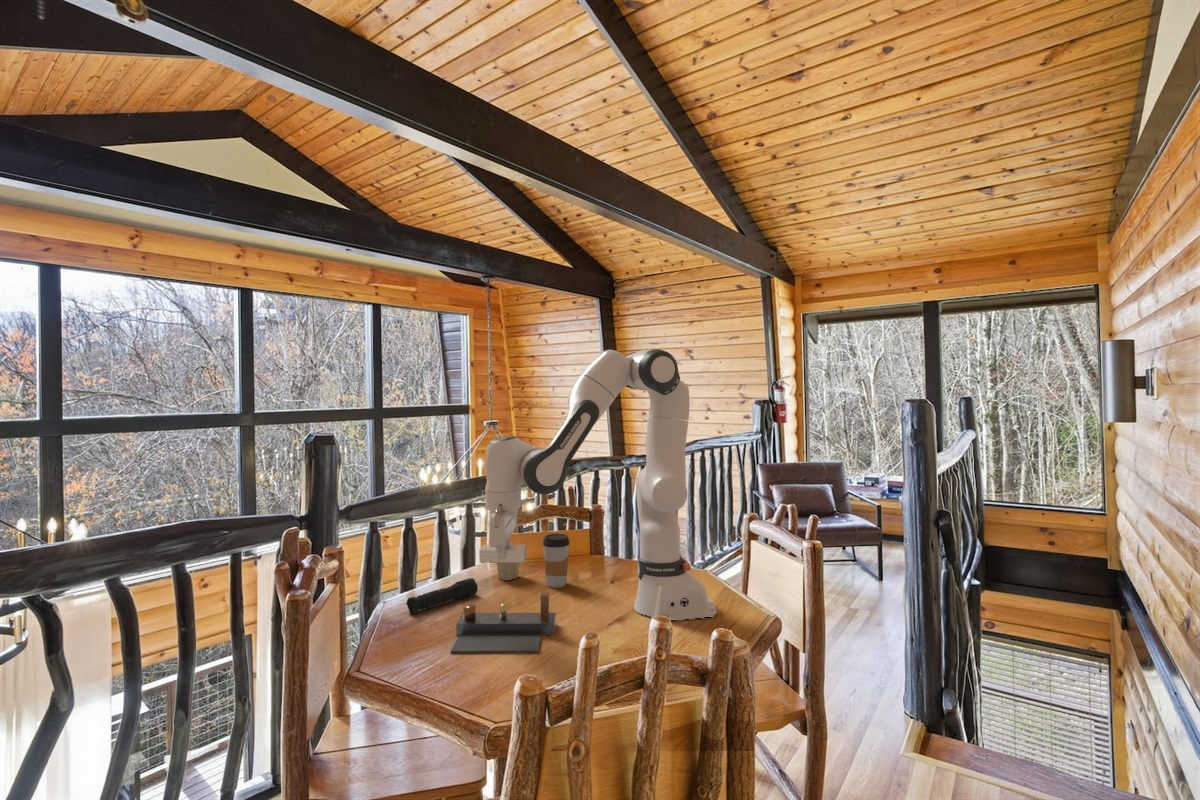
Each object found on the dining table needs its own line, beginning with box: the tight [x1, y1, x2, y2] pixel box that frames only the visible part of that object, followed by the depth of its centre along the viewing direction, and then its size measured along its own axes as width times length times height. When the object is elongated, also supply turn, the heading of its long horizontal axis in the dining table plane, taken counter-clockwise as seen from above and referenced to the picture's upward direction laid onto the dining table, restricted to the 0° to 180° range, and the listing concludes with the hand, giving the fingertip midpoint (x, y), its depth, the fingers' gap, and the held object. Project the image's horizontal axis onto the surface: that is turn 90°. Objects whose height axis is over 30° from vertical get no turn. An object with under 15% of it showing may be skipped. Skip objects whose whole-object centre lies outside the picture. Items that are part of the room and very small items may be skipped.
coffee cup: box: [542, 533, 570, 589], centre depth 179 cm, size 8×8×15 cm
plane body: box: [455, 592, 557, 637], centre depth 145 cm, size 24×7×9 cm, turn 90°
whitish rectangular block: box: [478, 544, 527, 563], centre depth 145 cm, size 11×5×3 cm, turn 90°
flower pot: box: [496, 562, 521, 581], centre depth 186 cm, size 9×9×9 cm
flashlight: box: [405, 577, 479, 614], centre depth 163 cm, size 5×21×5 cm, turn 140°
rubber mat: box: [450, 636, 542, 654], centre depth 136 cm, size 20×8×1 cm, turn 90°
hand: (503, 555), depth 145 cm, fingers closed on whitish rectangular block, 5 cm apart
